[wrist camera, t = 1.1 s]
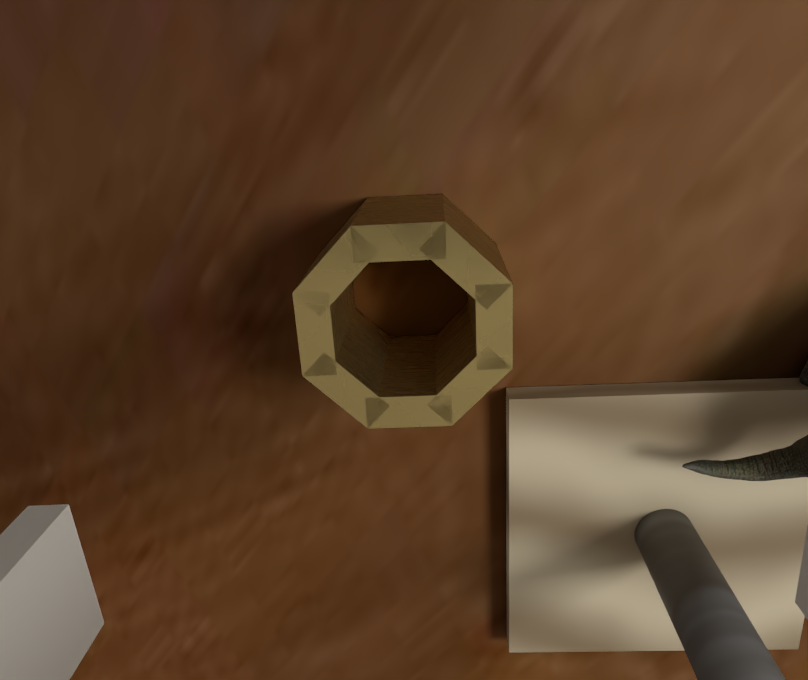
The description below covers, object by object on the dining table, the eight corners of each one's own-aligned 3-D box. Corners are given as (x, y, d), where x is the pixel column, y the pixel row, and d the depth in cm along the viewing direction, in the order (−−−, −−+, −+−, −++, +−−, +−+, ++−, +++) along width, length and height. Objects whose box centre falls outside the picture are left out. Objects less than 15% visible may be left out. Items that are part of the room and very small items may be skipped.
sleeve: (315, 200, 27) (284, 229, 21) (495, 190, 26) (512, 217, 21) (332, 364, 29) (308, 430, 23) (496, 358, 29) (512, 423, 23)
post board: (505, 387, 29) (555, 585, 17) (833, 376, 28) (1114, 575, 17) (506, 633, 34) (545, 915, 22) (785, 630, 33) (976, 921, 22)
